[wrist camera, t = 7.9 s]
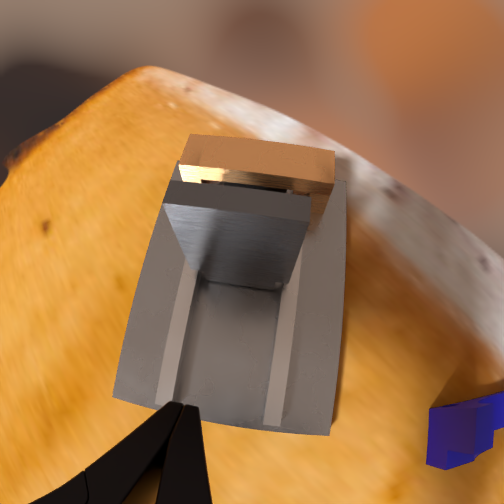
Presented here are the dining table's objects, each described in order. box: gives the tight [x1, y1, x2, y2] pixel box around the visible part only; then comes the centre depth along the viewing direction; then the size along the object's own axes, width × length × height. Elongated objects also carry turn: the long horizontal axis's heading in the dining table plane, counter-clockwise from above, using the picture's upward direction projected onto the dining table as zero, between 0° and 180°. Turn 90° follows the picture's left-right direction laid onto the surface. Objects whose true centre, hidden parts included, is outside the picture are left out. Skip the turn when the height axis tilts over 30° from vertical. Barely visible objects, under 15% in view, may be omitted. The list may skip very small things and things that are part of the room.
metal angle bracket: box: [162, 180, 311, 290], centre depth 19 cm, size 10×6×9 cm, turn 171°
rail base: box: [112, 134, 346, 436], centre depth 20 cm, size 19×14×5 cm
